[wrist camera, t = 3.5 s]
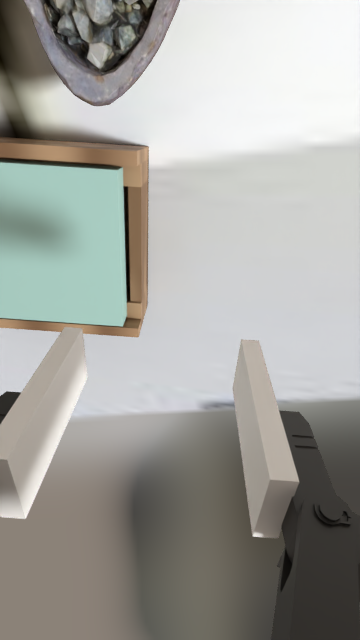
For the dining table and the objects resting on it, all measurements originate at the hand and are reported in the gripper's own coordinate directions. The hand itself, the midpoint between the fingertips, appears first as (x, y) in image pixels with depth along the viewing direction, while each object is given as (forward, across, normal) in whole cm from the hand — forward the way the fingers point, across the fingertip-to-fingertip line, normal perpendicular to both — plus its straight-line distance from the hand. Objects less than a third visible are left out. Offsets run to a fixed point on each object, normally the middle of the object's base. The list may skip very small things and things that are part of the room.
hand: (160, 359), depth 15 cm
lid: (+15, -13, 0) cm, 19 cm away
